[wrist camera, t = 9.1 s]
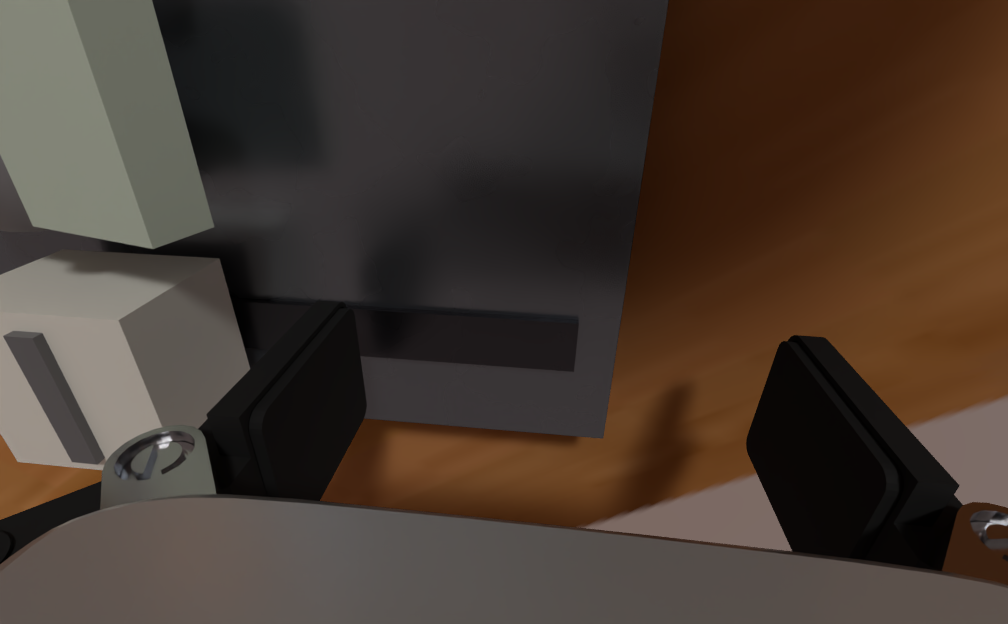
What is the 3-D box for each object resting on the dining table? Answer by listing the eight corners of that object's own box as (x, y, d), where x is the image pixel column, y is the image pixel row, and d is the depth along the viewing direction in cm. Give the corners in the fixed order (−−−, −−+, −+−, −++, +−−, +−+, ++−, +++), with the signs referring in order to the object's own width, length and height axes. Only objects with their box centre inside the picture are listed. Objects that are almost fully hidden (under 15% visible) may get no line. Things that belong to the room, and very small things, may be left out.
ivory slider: (219, 258, 12) (109, 325, 9) (257, 393, 13) (176, 485, 11) (63, 249, 12) (-91, 311, 9) (121, 383, 14) (9, 468, 11)
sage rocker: (152, -47, 7) (26, -68, 6) (224, 228, 9) (143, 259, 8) (-120, -33, 9) (-259, -47, 8) (-12, 190, 11) (-107, 208, 10)
